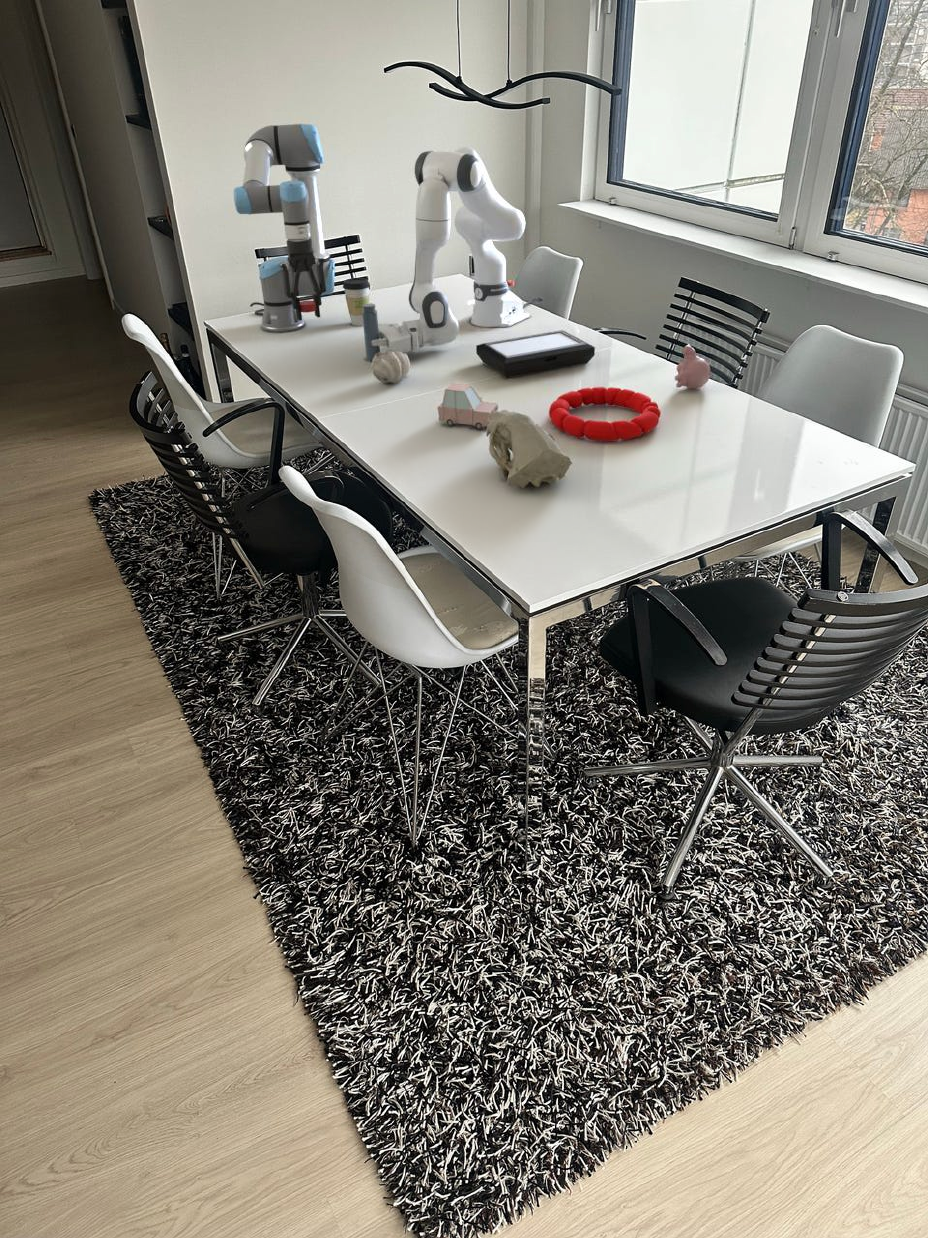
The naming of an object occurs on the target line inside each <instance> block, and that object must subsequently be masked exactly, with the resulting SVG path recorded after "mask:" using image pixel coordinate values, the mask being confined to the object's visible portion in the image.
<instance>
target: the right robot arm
mask: <svg viewBox="0 0 928 1238" xmlns="http://www.w3.org/2000/svg"><path fill="white" fill-rule="evenodd" d="M414 177H415V180H416V182H417V185H418V190H417V195H416V204H415V238H416V239H415V245H416V246H415V247H416V248H415V260H414V278H413V282H412V286H411V287H410V289H409V293H408V303H409V307H410V308H411V309H412V311H414V312H415V313H417V314H419V318H418V319H412V320H405V321H403V322H402V323H401V325H400V324H398V323H395V322H394V323H393V322H392V323H391V322H389V323H380V324H379V323H378V330H379V339H372V340H371V344H372V345H373V346H377V345H378V346H380V347H387V349H388V350H396V351H401V352H402V353H405V352H412V353H417V352H419V350H420V349H419V348H424V347H426V346H431V347H435V346H440V345H447V344H449V343H452V342H453V341H455V340H456V339H457V336H458V334H459V322H458V319H457V317H455V316H454V313H453V312H452V310H451V308H450V304H449V301H448V298H447V296H446V295H445V294H444V293H443V292H441V291H440V290H439V289H437V287H436V285H435V279H434V276H435V263H436V261H435V260H436V255H437V253H438V252H439V250H440V249H442V248H444V247H445V245H446V244H447V243H448V242H449V239H450V236H451V235H450V234H451V229H452V228H451V227H452V205H451V195H450V194H451V192H457V194H458V196H459V198H460V200H461V202H462V204H463V205H462V206H460V207H459V208H458V209H457V210H456V212H455V216H454V227H455V231H456V232H457V234H458V235H459V236H461V238H463V240H464V241H465V243H466V244H467V245H468V248H469V250H470V253H471V255H472V260H473V271H474V281H473V285H472V286H473V294H474V296H473V299H472V300H468V301H467V305H471V304H472V313H471V320H470V323H471V324H472V325H475V326H477V327H483V328H485V327H486V328H495V327H496V328H497V327H508V328H509V327H511V326H513V325H515V324H517V323H519V322H521V321H524V320H526V319H528V318H529V317H530V313H529V312H527V311H525V310H524V308H525V307H526V306H528V305H530V304H532V303H534V302H535V301H537V300H539V301H541V302H543V299H542V298H541V297H535V298H533V299H532V300H530V301H528V302H526V303H524V304H523V301H522V299H521V298H520V297H518V296H517V295H516V294H515V293H514V292H512V291H511V290H510V287H511V288H512V287H514V285H515V281H514V280H511V279H508V280H507V261H506V257H505V256H504V254H503V253H502V252H501V251H499V249H497V248H496V246H495V245H494V244H493V242H494V241H495V242H512V241H518V240H519V239H520V238H521V237H522V236H523V235H524V232H525V229H526V218H525V215H524V214H523V211H521V210H520V209H518V208H517V207H514V206H512V205H511V203H508V202H507V200H505V199H504V198H503V197H502V196H501V195H500V194H499V192H498V191H497V190H496V189H495V187H494V185H493V182H492V181H491V178H490V176H489V173H488V171H487V169H486V166H485V164H484V162H483V160H482V158H481V157H480V156H479V154H478V153H477V151H476V150H475V149H474V148H472V147H469V146H462V147H459V148H457V149H456V150H454V151H450V150H448V151H445V150H444V151H442V150H439V151H434V150H427V151H423V152H421V153H420V154H419V155H418V157H417V158H416V160H415V163H414Z"/></svg>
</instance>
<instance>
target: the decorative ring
mask: <svg viewBox="0 0 928 1238" xmlns="http://www.w3.org/2000/svg"><path fill="white" fill-rule="evenodd" d="M583 405H584V406H586V407H587V406H591V405H593V406H604V405H608V406H614V407H619V408H624V409H628V410H632V411H635V412H636V413H638V414H639V415H637V416H635V417H632V418H631V419H630V420H625V419H624V420H623V419H622V420H614V421H611V422H609V421H607V420H606V421H605V420H593V419H587V420H586V421H585V419H584V418H582V417H579V416H577V415H573V414H571V413H570V410H571V409H579V408H581V407H582V406H583ZM548 416H549V419H550V422H551V423H552V425H553V426H554V427H555V428H556V429H558V430H559V431H561V432H563V433H567V434H568V435H569V436H573V437H576V438H580V439H582V438H583V437H585V438H586V439H587V440H591V441H601V442H602V441H603V442H608V441H609V442H610V441H611V442H612V441H615V442H616V441H618V440H630V439H634V438H638V437H641V436H642V434H647V433H650V432H651V431H653V430H654V429H655V428H656V427H657V426H658V424H659V422H660V421H659V420H660V417H661V410H660V408H659V405H658V403H657V402H656V401H652V399H651V397H649V396H648V395H646V394H644V393H642V392H635V391H634V390H632V389H628V388H624V389H622V388H620V387H613V386H612V387H611V386H610V387H608V388H606V387H604V386H594V387H585V388H584V387H583V388H580V389H578V390H571V391H568V392H565V393H563V394H561V395H560V396H558V397H557V398H556V400H554V401H552V403H551V404H550V407H549V409H548Z"/></svg>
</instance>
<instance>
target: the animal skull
mask: <svg viewBox="0 0 928 1238" xmlns="http://www.w3.org/2000/svg"><path fill="white" fill-rule="evenodd" d="M485 436H486V438H487V437H489V438H488V440H489V444H488V445H489V446H488V450H489V454H490V456H491V457H492V458H493V459H494V460H495V462H496V464H497V466H499V468H500V470H501V471H502V472H501V478H502V479H507V480H506V484H507V486H517V487H518V486H519V488H523V489H524V488H526V486H527V485H529V483H531V485H533V486H534V487H536V488H540V485H541V484H542V482H544V483H549V484H550V485H553V484H555V483H556V482H557V480H561V479H563V478H565V476H566V474H567V472H568V471H569V469H570V467H571V466H572V464H573V462H572V461H571V458H570V457H568V456H567V455H565V453H564V451H562V449H561V448H560V446H559V444H557V443H556V439H555V438H554V436H553V435H551V434H550V433H548V432H547V431H546V430H545V429H544V428H542V427H541V426H539V425H538V424H537V423H536V424H535V422H534V421H533V419H532V418H531V417H530V416H529V415H527V414H524V413H519V412H515V411H509V410H507V409H502V410H500V411H499V410H497V411H496V412H492V413H491V414H490V422H488V423H487V427H486V435H485ZM511 453H512V454H511ZM511 455H512V457H513V458H512V460H511ZM507 474H508V475H507Z"/></svg>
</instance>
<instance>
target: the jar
mask: <svg viewBox="0 0 928 1238" xmlns="http://www.w3.org/2000/svg"><path fill="white" fill-rule="evenodd" d="M362 316H363V325H362V328H363V337H364V348H365V349H364V350H365V358H366V361H369V362H372V361H373V358H374V357H375V354H376V353H381V346H378V345H377V346H373V345H372V344H371V340H372V339H379V330H378V325H379V320H378V318H379V317H378V310H377V309H376V304H375V303H370V302H369V303H368V304H364V305H363V311H362Z"/></svg>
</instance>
